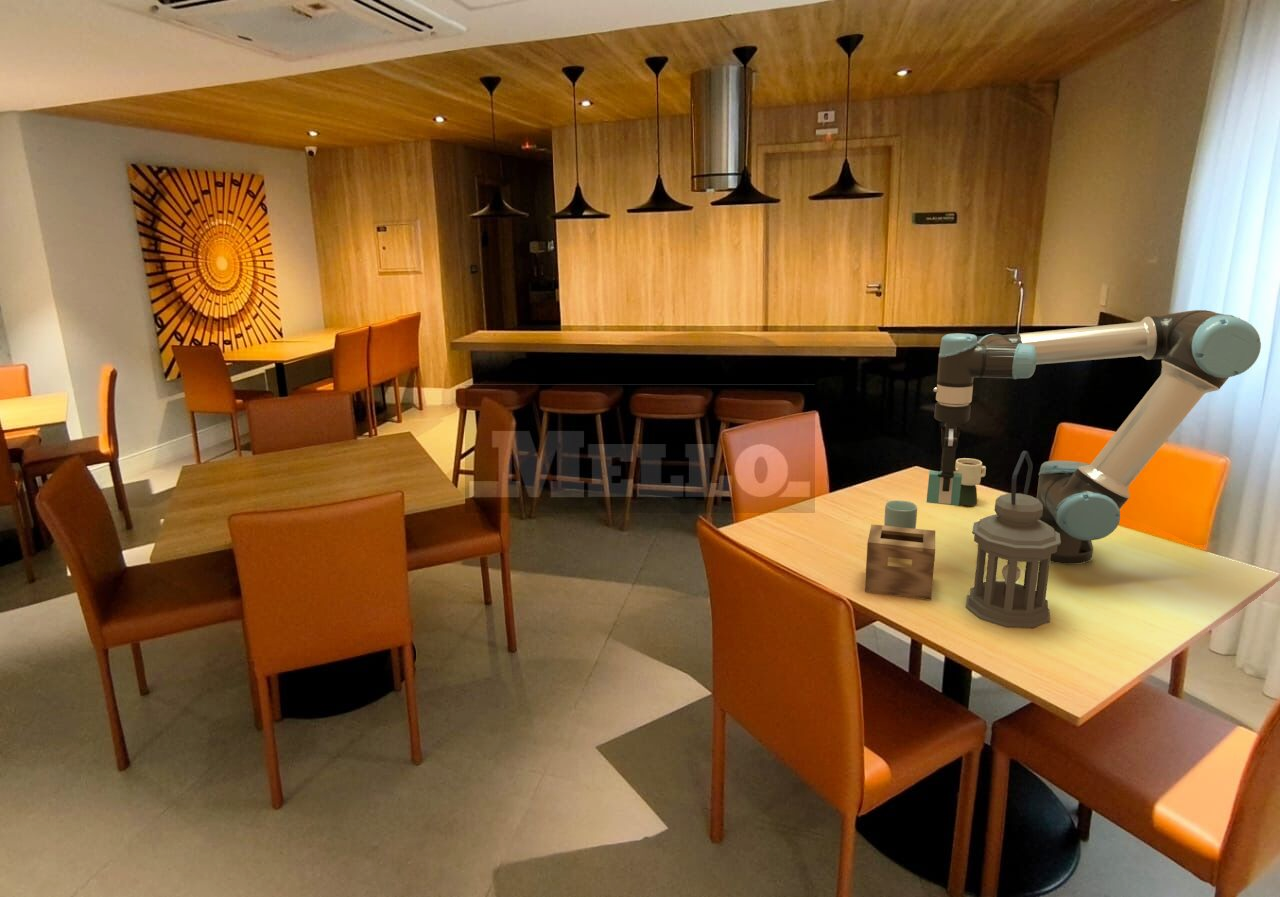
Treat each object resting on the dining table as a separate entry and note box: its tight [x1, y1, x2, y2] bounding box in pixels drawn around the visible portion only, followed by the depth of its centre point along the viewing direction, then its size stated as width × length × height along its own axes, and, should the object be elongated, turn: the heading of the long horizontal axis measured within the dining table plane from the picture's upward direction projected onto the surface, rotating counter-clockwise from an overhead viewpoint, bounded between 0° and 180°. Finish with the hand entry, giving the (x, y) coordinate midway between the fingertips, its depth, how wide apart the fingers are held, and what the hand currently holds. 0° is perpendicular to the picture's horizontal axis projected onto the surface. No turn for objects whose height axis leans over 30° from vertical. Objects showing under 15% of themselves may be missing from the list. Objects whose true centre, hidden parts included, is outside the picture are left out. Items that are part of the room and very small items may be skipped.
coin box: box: [864, 523, 936, 601], centre depth 170 cm, size 14×11×12 cm
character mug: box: [954, 457, 987, 507], centre depth 218 cm, size 11×7×13 cm, turn 98°
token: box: [925, 470, 962, 507], centre depth 176 cm, size 7×3×7 cm, turn 69°
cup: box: [883, 500, 918, 529], centre depth 194 cm, size 8×8×10 cm
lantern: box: [964, 450, 1061, 630], centre depth 155 cm, size 17×17×35 cm
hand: (944, 500), depth 177 cm, fingers closed on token, 3 cm apart
